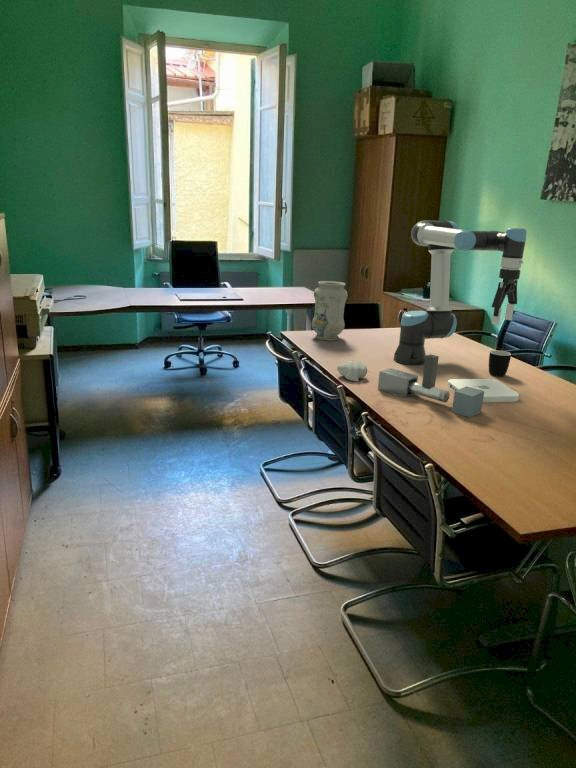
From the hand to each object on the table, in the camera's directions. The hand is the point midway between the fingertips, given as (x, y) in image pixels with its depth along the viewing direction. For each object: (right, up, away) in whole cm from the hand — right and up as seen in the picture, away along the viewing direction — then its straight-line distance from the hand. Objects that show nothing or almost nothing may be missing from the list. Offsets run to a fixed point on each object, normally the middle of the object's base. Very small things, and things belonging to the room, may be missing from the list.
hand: (501, 322), depth 231 cm
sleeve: (-43, -28, -3) cm, 51 cm away
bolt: (-37, -29, -9) cm, 47 cm away
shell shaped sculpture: (-59, -22, +13) cm, 65 cm away
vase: (-65, 0, +80) cm, 102 cm away
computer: (-8, -29, +1) cm, 30 cm away
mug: (+8, -20, +27) cm, 35 cm away
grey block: (-21, -35, -22) cm, 46 cm away
